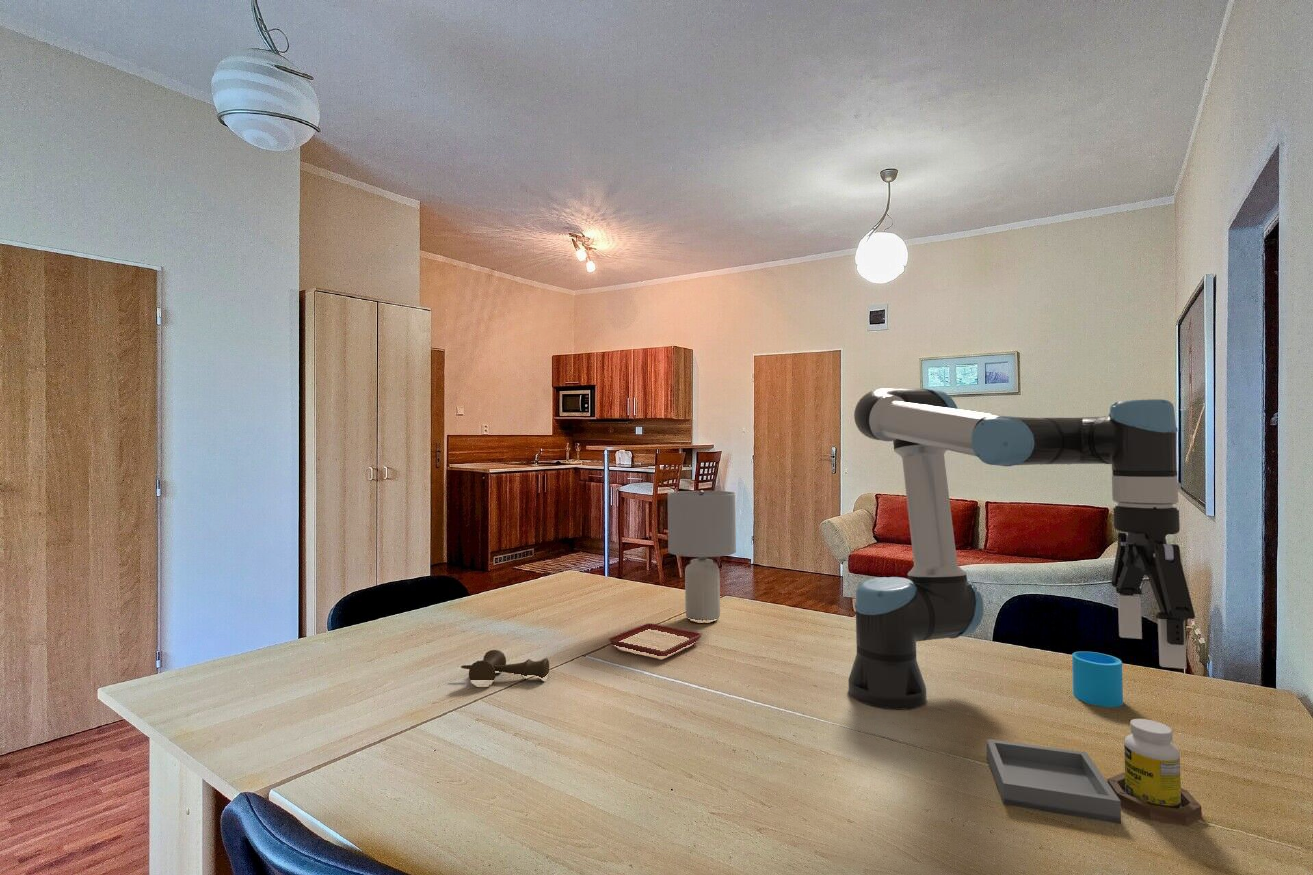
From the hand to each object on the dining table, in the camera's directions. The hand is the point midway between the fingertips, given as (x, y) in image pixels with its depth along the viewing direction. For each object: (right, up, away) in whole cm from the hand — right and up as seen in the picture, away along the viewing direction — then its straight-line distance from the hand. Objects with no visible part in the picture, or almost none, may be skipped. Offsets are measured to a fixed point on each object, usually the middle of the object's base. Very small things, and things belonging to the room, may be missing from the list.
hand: (1150, 651), depth 88 cm
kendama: (-106, -24, +48) cm, 119 cm away
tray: (-13, -21, +3) cm, 25 cm away
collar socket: (-1, -21, -2) cm, 21 cm away
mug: (+18, -22, +36) cm, 46 cm away
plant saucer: (-72, -24, +69) cm, 103 cm away
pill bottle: (-1, -21, -2) cm, 21 cm away
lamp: (-58, -24, +94) cm, 113 cm away
